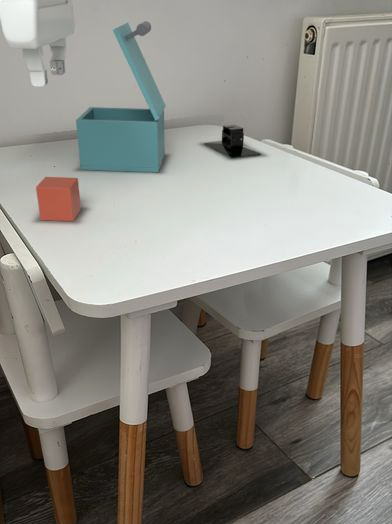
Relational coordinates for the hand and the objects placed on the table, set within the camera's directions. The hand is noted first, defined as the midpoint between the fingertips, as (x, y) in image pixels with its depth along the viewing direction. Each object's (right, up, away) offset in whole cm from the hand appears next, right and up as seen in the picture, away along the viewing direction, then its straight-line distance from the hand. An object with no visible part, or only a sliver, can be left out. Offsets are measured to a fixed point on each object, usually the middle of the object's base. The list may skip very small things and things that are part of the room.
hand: (49, 79), depth 76 cm
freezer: (+6, 0, +33) cm, 34 cm away
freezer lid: (+10, +13, +24) cm, 29 cm away
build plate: (+27, +6, +43) cm, 51 cm away
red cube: (-1, -16, +9) cm, 19 cm away
